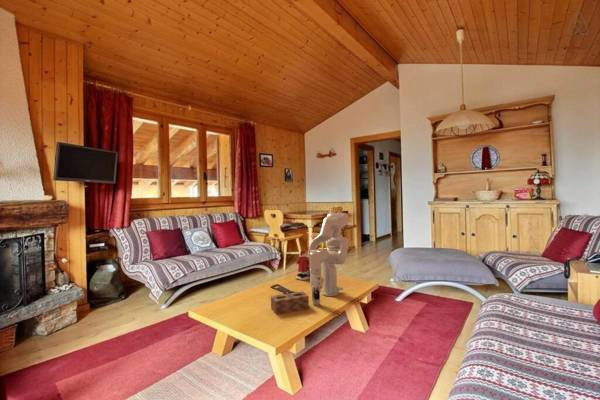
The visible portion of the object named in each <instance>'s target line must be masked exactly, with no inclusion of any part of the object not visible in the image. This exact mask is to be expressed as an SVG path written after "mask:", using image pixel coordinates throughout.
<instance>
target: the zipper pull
mask: <svg viewBox="0 0 600 400" xmlns="http://www.w3.org/2000/svg"><path fill="white" fill-rule="evenodd" d="M269 287H270V289H272V290H275V291H277V292H280V293H282V294H288V293H295V292H296V291H295V290H294V291H293V290H290V289H288V288H286V287H284V286H282V285H280V284H278V283H276V284H273V285H271V286H269Z"/></svg>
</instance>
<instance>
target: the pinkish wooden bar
mask: <svg viewBox="0 0 600 400" xmlns="http://www.w3.org/2000/svg"><path fill="white" fill-rule="evenodd" d="M317 289H318V288H317ZM311 294H312V297H311V298H312V306H313V307H314V306H319V305H321V298H320V299H319V300H315V294H316V293H315V289H314V287H312V286H311Z"/></svg>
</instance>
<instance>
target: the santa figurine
mask: <svg viewBox="0 0 600 400" xmlns="http://www.w3.org/2000/svg"><path fill="white" fill-rule="evenodd" d="M306 255H307V254H306V251H305V250H304V249H301V250H300V252H299V255H298V257H297V259H296V261H295V262H296V264H297V265H298V268H297V269H298V270H297V275H296V276H295V279H296V280H298V281H307V280H310V261H309V258H308V256H306Z"/></svg>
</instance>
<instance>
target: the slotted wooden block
mask: <svg viewBox="0 0 600 400" xmlns="http://www.w3.org/2000/svg"><path fill="white" fill-rule="evenodd" d="M294 292H295V293H288V292H287V293H288V294H284V293H282V294H277V295H271V296H270V309H271V310H272V312H273V313H274V315H279V314H285V313H289V312H297V311H302V310H307V309H309V308H310V306H309V302H310V301H309V298H310V297H309V295H308V294H307V293H305V292H304V291H294Z"/></svg>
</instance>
